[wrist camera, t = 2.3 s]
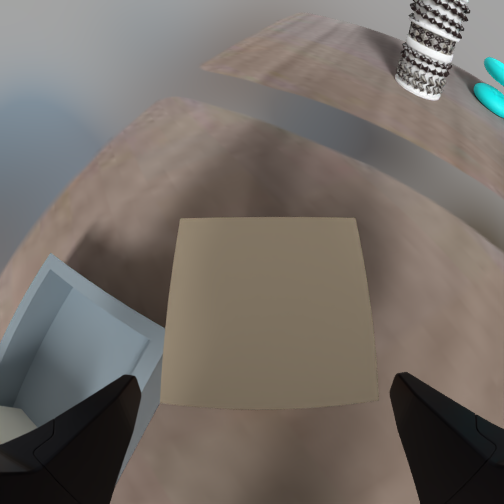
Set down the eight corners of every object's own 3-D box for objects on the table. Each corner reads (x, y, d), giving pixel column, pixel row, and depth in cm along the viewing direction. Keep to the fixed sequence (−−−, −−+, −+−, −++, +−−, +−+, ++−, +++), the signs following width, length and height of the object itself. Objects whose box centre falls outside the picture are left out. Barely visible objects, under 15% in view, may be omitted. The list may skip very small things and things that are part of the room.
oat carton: (302, 401, 17) (380, 401, 5) (225, 401, 17) (157, 405, 5) (300, 330, 19) (356, 216, 8) (227, 330, 19) (178, 217, 8)
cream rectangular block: (70, 512, 11) (13, 530, 5) (7, 447, 13) (-51, 443, 7) (88, 474, 13) (25, 489, 7) (21, 408, 15) (-41, 396, 9)
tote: (87, 538, 10) (61, 552, 7) (-5, 446, 13) (-34, 444, 9) (190, 346, 19) (173, 333, 15) (76, 275, 21) (50, 252, 18)
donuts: (522, 76, 28) (531, 91, 25) (507, 109, 37) (512, 128, 33) (484, 50, 31) (489, 60, 28) (471, 85, 40) (472, 100, 36)
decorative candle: (382, 71, 38) (404, -55, 16) (420, 75, 39) (447, -36, 17) (413, 99, 34) (449, -43, 12) (451, 103, 34) (490, -19, 13)
